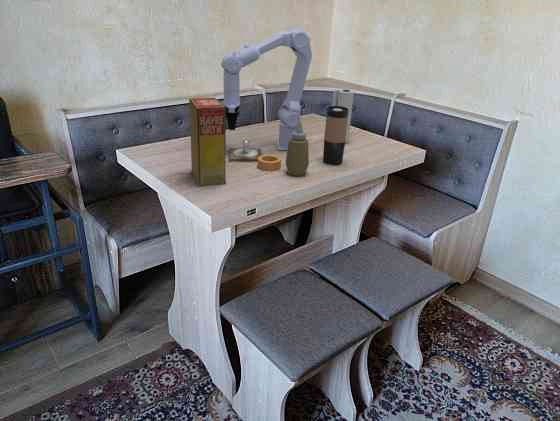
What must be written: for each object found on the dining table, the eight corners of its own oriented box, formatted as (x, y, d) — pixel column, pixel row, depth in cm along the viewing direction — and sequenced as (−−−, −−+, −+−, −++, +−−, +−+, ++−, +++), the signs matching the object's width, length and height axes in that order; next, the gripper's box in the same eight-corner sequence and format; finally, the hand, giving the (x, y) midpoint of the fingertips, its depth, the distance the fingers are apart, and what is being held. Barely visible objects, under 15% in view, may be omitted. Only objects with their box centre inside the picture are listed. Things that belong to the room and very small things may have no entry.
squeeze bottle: (300, 179, 154) (304, 127, 146) (280, 173, 157) (282, 122, 149) (312, 172, 160) (316, 121, 152) (292, 167, 163) (295, 117, 155)
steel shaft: (248, 152, 172) (248, 139, 170) (249, 154, 170) (249, 141, 168) (242, 152, 172) (242, 139, 170) (242, 154, 170) (242, 141, 168)
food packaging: (227, 183, 148) (226, 106, 136) (198, 186, 145) (195, 108, 133) (217, 169, 159) (216, 96, 148) (190, 171, 156) (187, 97, 144)
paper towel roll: (350, 141, 193) (356, 90, 183) (344, 145, 188) (350, 92, 179) (335, 138, 196) (340, 87, 186) (328, 141, 191) (333, 90, 182)
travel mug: (344, 160, 172) (350, 107, 163) (340, 167, 166) (346, 112, 157) (325, 157, 174) (329, 104, 165) (319, 163, 168) (324, 109, 159)
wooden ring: (279, 162, 167) (279, 154, 165) (281, 170, 160) (281, 162, 158) (257, 162, 166) (257, 154, 165) (258, 170, 159) (258, 162, 158)
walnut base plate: (260, 150, 178) (260, 147, 177) (262, 161, 167) (262, 158, 166) (229, 150, 176) (229, 147, 176) (229, 161, 166) (229, 158, 165)
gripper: (220, 85, 171) (221, 121, 177) (219, 94, 158) (220, 132, 164) (239, 85, 171) (240, 121, 178) (240, 94, 159) (240, 132, 165)
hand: (232, 126), depth 171 cm, fingers open, 7 cm apart
